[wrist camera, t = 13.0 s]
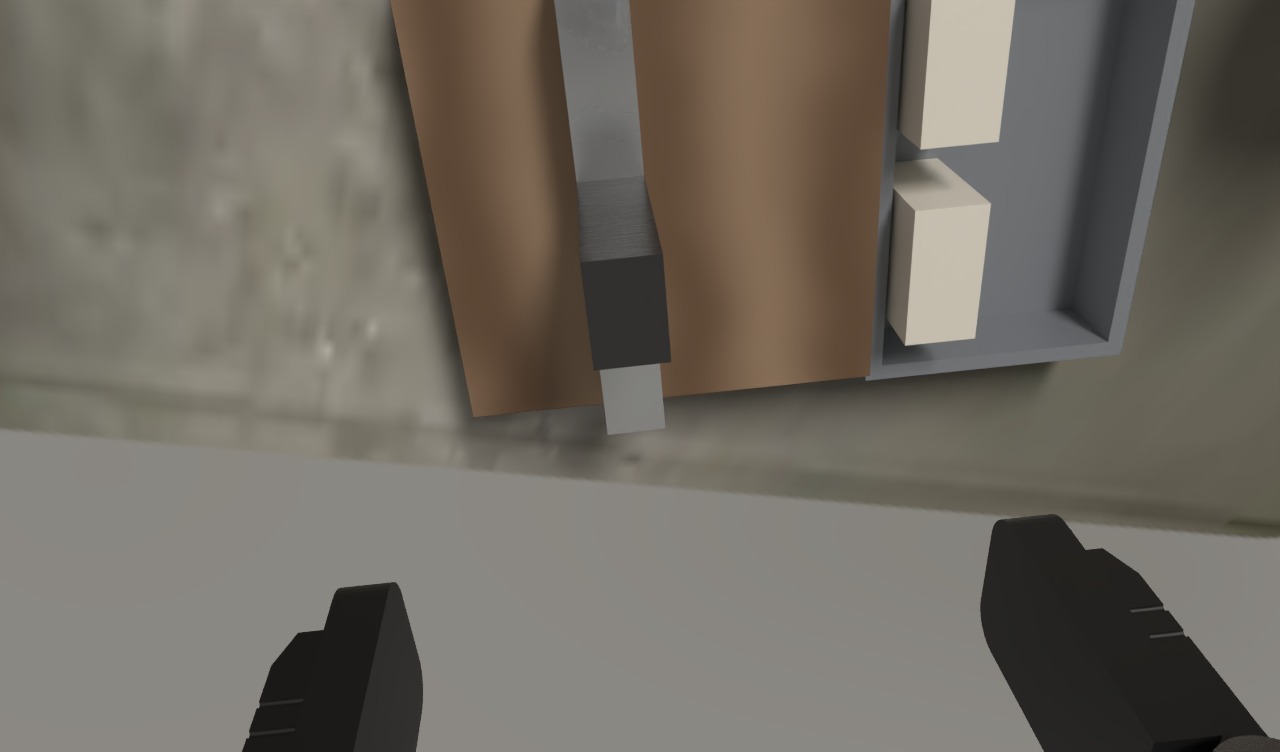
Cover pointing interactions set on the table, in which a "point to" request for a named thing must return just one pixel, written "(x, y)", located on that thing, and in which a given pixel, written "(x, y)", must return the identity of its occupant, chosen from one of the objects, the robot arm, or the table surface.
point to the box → (1051, 183)
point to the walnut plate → (658, 189)
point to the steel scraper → (614, 214)
